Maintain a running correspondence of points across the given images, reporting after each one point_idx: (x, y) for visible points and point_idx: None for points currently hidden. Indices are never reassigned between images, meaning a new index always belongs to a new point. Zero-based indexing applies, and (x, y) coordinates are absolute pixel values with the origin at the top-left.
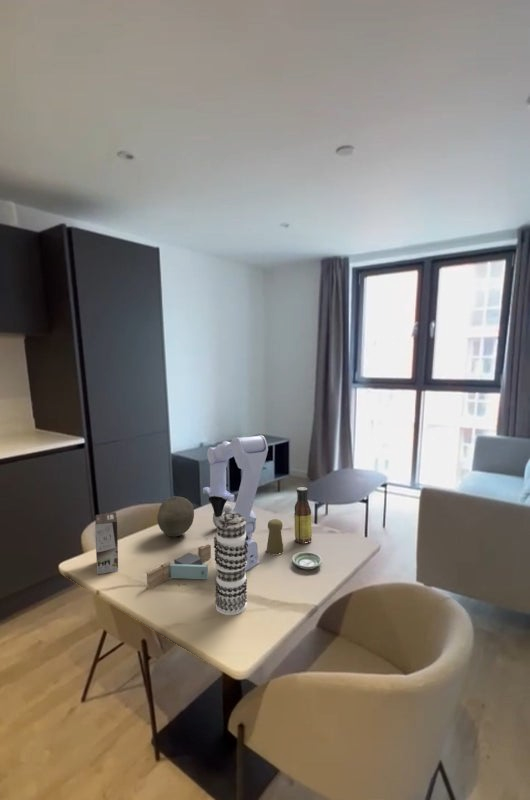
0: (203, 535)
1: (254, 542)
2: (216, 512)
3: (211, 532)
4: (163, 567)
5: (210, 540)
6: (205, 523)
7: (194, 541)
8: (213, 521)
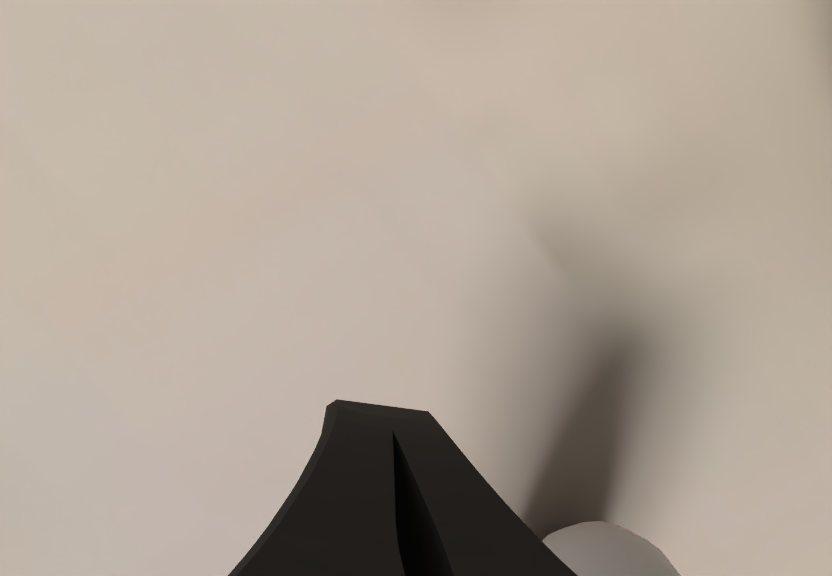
0: (657, 300)
1: None
2: (349, 455)
3: (605, 418)
4: None
5: (485, 228)
6: (801, 563)
7: (679, 88)
8: (651, 548)
